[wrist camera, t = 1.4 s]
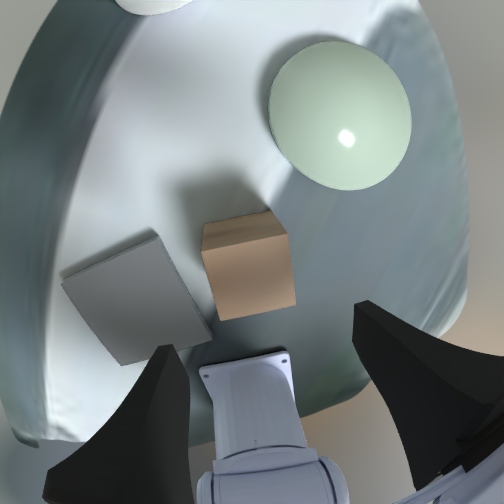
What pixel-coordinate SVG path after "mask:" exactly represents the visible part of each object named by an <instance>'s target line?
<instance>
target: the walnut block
mask: <svg viewBox="0 0 504 504" xmlns="http://www.w3.org/2000/svg"><path fill="white" fill-rule="evenodd" d="M201 254H202V258H203V262H204V266H205V269H206V273H207V277H208V280H209V284H210V287H211V291H212V294H213V298H214V301H215V305H216V308H217V311H218V315H219V318H220V321H223V320H228V319H233V318H238V317H243V316H248V315H253V314H257V313H262V312H267V311H271V310H276V309H280V308H284V307H289V306H293V305H296V300H295V290H294V281H293V272H292V264H291V255H290V247H289V239H288V233H287V232H286V230H285V229H284V227H283V226H282V225H281V223H280V222H279V220H278V219H277V218H276V216H275V215H274V214H273V212H272V211H266V212H260V213H255V214H250V215H245V216H240V217H235V218H231V219H226V220H221V221H216V222H212V223H207V224H203V233H202V244H201Z"/></svg>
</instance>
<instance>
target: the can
mask: <svg viewBox="0 0 504 504" xmlns="http://www.w3.org/2000/svg"><path fill="white" fill-rule="evenodd" d="M115 1H116V2H117V3H118V4H119V5H120V6H121V7H122V8H123V9H124V10H126V11H128V12H130V13H133V14H138V15H157V14H163V13H167V12H170V11H173V10H176V9H178V8H181V7H183V6H185V5H186V4H188V3H190V2H191V1H193V0H115Z"/></svg>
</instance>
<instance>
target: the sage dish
mask: <svg viewBox="0 0 504 504" xmlns="http://www.w3.org/2000/svg"><path fill="white" fill-rule="evenodd" d="M268 118H269V124H270V128H271V132H272V135H273V137H274V140H275V142H276V144H277V146H278V148H279V150H280V151H281V153H282V154H283V155H284V157H285V158H286V159H287V160H288V162H289V163H290V164H291V165H292V166H293V167H294V168H296V169H297V170H298V171H299V172H300V173H302V174H303V175H305V176H306V177H308V178H310V179H312V180H314V181H316V182H318V183H320V184H322V185H324V186H327V187H330V188H334V189H339V190H359V189H363V188H367V187H370V186H372V185H375V184H377V183H378V182H380V181H382V180H383V179H385V178H386V177H387V176H389V175H390V174H391V173H392V172H393V171H394V170H395V168H396V167H397V166H398V164H399V163H400V161H401V160H402V158H403V156H404V154H405V152H406V149H407V147H408V143H409V140H410V134H411V112H410V106H409V102H408V98H407V95H406V93H405V90H404V88H403V86H402V84H401V82H400V81H399V79H398V77H397V76H396V75H395V73H394V72H393V71H392V69H391V68H390V67H389V66H388V65H387V64H386V63H385V62H384V61H383V60H382V59H381V58H379V57H378V56H377V55H375V54H374V53H372V52H370V51H369V50H367V49H365V48H363V47H360V46H358V45H355V44H351V43H347V42H340V41H327V42H321V43H316V44H313V45H310V46H308V47H306V48H304V49H302V50H301V51H299V52H298V53H296V54H295V55H294V56H293V57H292V58H290V59H289V60H288V61H287V62H286V63H285V64H284V65H283V66H282V68H281V69H280V71H279V72H278V73H277V75H276V77H275V79H274V81H273V83H272V86H271V89H270V93H269V99H268Z"/></svg>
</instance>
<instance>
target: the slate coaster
mask: <svg viewBox="0 0 504 504" xmlns="http://www.w3.org/2000/svg"><path fill="white" fill-rule="evenodd" d="M61 286H62V287H63V289H64V290H65V292H66V294H67V295H68V297H69V298H70V300H71V301H72V303H73V304H74V306H75V307H76V308H77V310H78V311H79V313H80V314H81V316H82V317H83V318H84V320H85V321H86V323H87V324H88V325H89V327H90V328H91V329H92V331H93V332H94V333H95V335H96V336H97V337H98V338H99V340H100V341H101V342H102V344H103V345H104V346H105V347H106V349H107V350H108V351H109V352H110V353H111V355H112V356H113V357H114V358H115V359H116V361H117V362H118V363H119V364H120V365H121V366H124V365H128V364H132V363H136V362H140V361H143V360H147V359H150V358H151V357H152V355H153V353H154V352H155V350H156V349H157V347H158V346H161V345H168V344H173V346H174V348H175V350H176V351H179V350H182V349H185V348H189V347H192V346H195V345H198V344H202V343H205V342H208V341H211V340H213V338H212V332H211V330H210V329H209V327H208V325H207V324H206V322H205V320H204V318H203V317H202V315H201V313H200V312H199V310H198V308H197V306H196V305H195V303H194V301H193V299H192V297H191V296H190V294H189V292H188V290H187V288H186V287H185V285H184V283H183V281H182V279H181V277H180V276H179V274H178V272H177V270H176V268H175V266H174V264H173V262H172V260H171V259H170V257H169V255H168V253H167V251H166V249H165V247H164V245H163V243H162V241H161V239H160V237H159V235H158V236H156V237H153V238H151V239H149V240H147V241H144V242H142V243H140V244H138V245H135V246H133V247H131V248H129V249H126V250H124V251H122V252H120V253H118V254H116V255H113V256H111V257H109V258H107V259H105V260H103V261H101V262H99V263H96V264H94V265H92V266H90V267H88V268H86V269H84V270H82V271H80V272H78V273H76V274H74V275H72V276H70V277H68V278H66V279H64V280H63V282H62V283H61Z"/></svg>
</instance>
